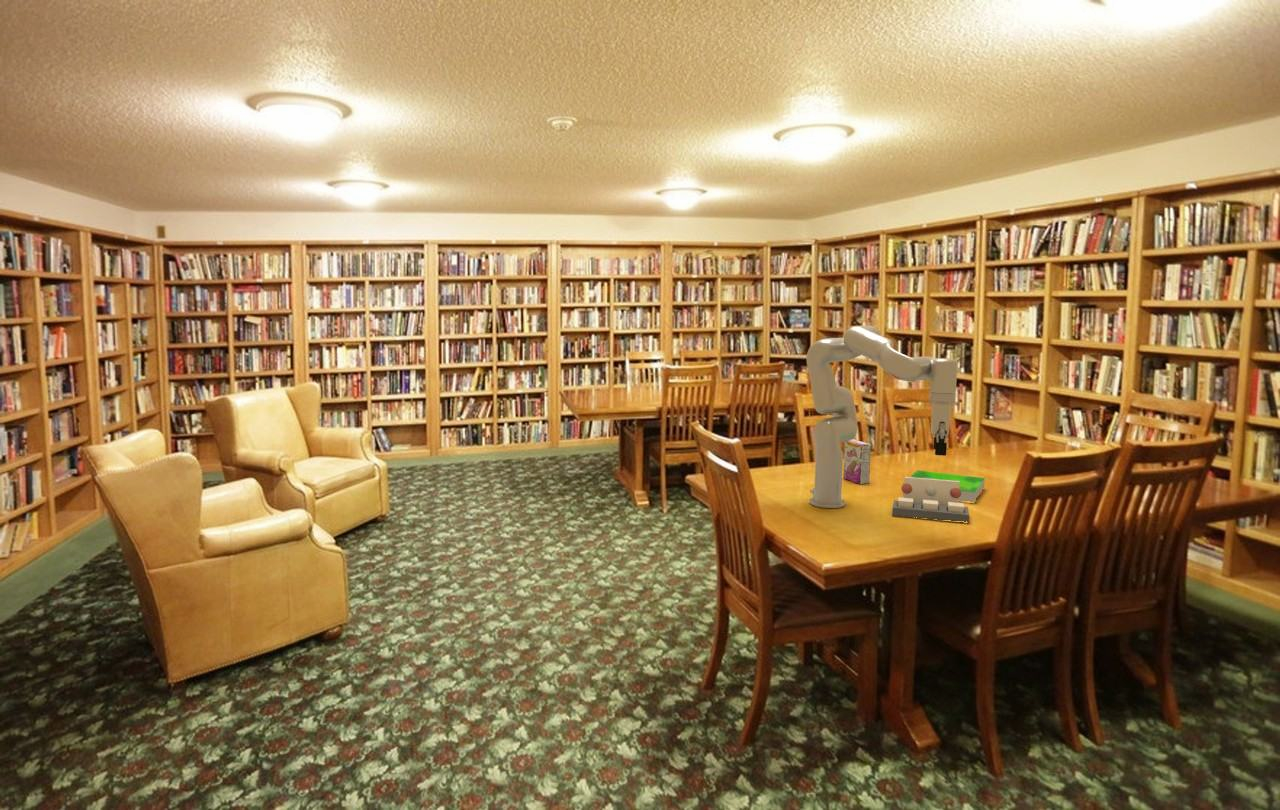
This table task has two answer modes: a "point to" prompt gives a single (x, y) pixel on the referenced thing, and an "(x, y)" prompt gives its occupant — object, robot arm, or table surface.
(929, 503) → the middle button
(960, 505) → the button
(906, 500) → the button
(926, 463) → the table surface
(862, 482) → the candy bar box
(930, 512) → the button panel
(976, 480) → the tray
